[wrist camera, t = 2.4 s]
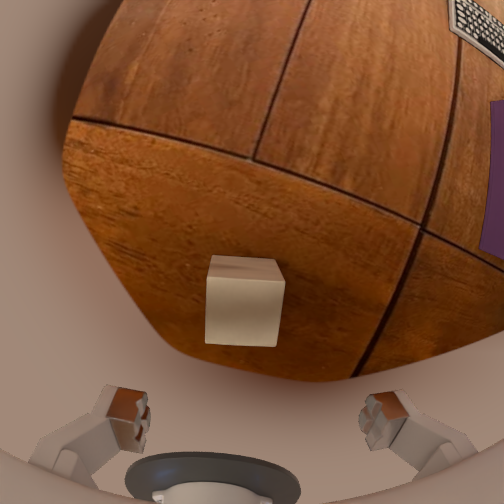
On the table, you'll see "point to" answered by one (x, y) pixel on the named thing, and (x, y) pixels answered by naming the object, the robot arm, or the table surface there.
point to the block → (243, 301)
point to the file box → (495, 187)
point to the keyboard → (477, 28)
